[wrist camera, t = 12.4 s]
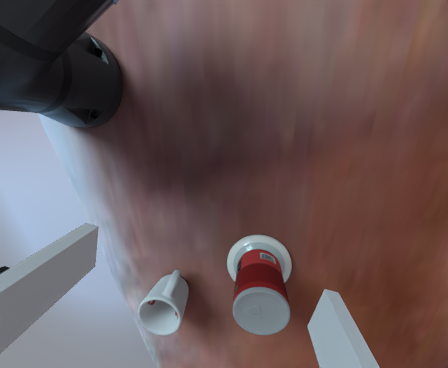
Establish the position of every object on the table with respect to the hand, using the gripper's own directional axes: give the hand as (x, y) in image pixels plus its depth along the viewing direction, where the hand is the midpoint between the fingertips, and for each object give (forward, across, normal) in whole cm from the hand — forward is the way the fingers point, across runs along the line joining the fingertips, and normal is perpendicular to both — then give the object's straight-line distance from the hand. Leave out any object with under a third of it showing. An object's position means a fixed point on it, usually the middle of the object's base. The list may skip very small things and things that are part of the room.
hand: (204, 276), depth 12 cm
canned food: (+25, +9, -15) cm, 31 cm away
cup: (+26, -6, -25) cm, 37 cm away
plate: (+26, +9, -15) cm, 31 cm away
